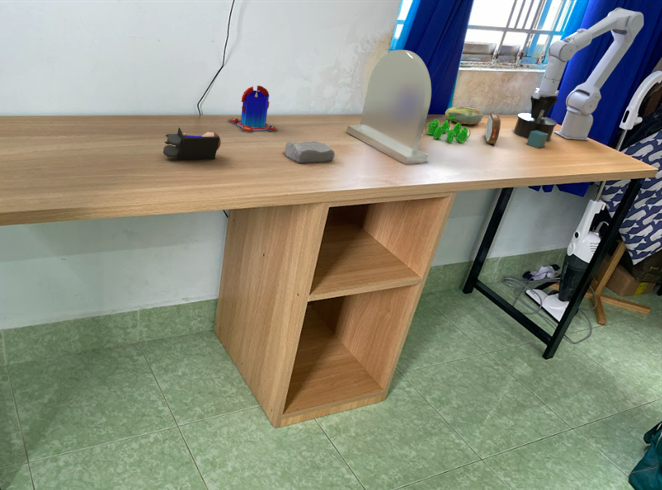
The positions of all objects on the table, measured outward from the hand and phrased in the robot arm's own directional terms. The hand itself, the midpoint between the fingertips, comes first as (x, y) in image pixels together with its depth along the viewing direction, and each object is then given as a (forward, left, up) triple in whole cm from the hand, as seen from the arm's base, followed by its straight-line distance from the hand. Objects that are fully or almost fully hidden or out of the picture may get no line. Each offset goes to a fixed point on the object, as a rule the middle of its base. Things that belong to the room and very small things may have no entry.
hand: (537, 117), depth 219 cm
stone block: (+94, +37, -7) cm, 101 cm away
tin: (+23, +10, -7) cm, 26 cm away
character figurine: (+126, +43, -7) cm, 133 cm away
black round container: (0, 0, -6) cm, 6 cm away
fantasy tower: (+105, +12, -7) cm, 106 cm away
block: (+6, +12, -6) cm, 15 cm away
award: (+66, +24, -7) cm, 70 cm away
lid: (0, 0, -1) cm, 1 cm away
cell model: (+23, -10, -7) cm, 26 cm away
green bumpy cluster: (+39, +10, -7) cm, 41 cm away
